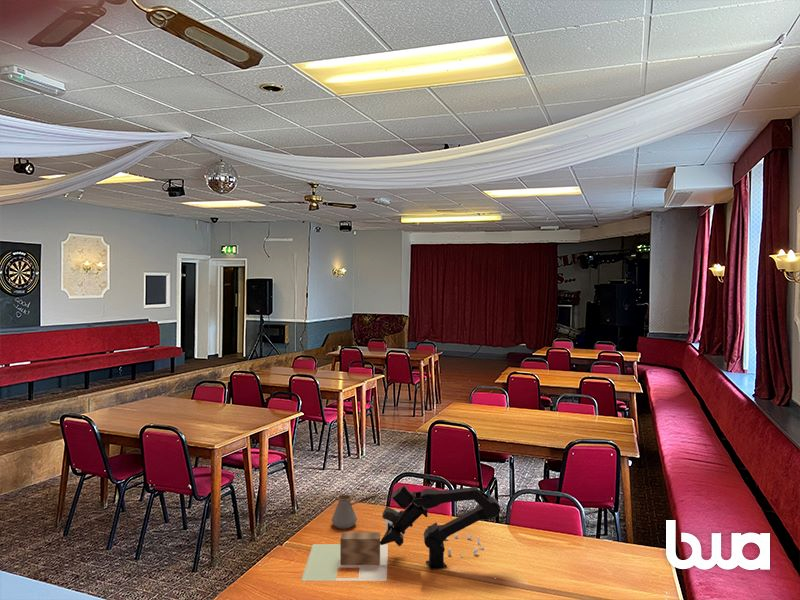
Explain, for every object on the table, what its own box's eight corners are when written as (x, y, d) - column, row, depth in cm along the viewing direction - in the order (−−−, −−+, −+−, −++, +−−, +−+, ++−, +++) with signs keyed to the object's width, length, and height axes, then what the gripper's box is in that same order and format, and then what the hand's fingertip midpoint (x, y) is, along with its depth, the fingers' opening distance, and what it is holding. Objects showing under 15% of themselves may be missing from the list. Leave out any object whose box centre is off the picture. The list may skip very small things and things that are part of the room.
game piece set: (492, 553, 238) (492, 544, 237) (448, 562, 230) (448, 552, 230) (469, 534, 256) (469, 526, 255) (428, 542, 248) (428, 533, 248)
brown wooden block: (380, 557, 230) (380, 532, 229) (379, 564, 224) (379, 539, 223) (341, 557, 230) (341, 532, 229) (340, 564, 224) (340, 539, 223)
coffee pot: (328, 529, 260) (328, 496, 259) (335, 519, 271) (335, 487, 271) (374, 533, 255) (374, 499, 255) (380, 523, 267) (380, 490, 266)
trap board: (387, 547, 242) (387, 544, 242) (386, 584, 212) (386, 580, 212) (312, 547, 242) (312, 544, 241) (301, 584, 212) (301, 580, 211)
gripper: (394, 492, 235) (367, 519, 236) (394, 510, 217) (364, 539, 217) (414, 512, 236) (386, 539, 236) (415, 531, 217) (385, 560, 217)
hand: (380, 543), depth 227 cm, fingers closed, pressing on brown wooden block
